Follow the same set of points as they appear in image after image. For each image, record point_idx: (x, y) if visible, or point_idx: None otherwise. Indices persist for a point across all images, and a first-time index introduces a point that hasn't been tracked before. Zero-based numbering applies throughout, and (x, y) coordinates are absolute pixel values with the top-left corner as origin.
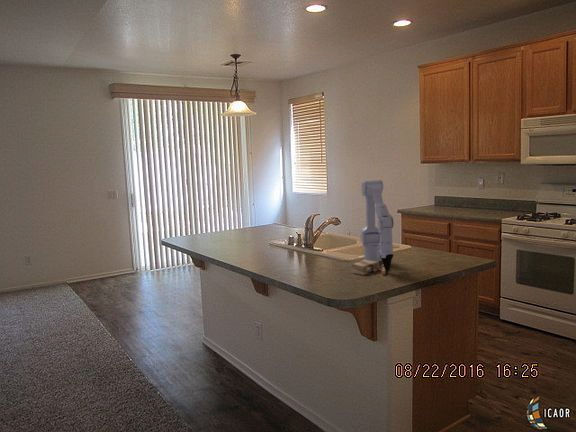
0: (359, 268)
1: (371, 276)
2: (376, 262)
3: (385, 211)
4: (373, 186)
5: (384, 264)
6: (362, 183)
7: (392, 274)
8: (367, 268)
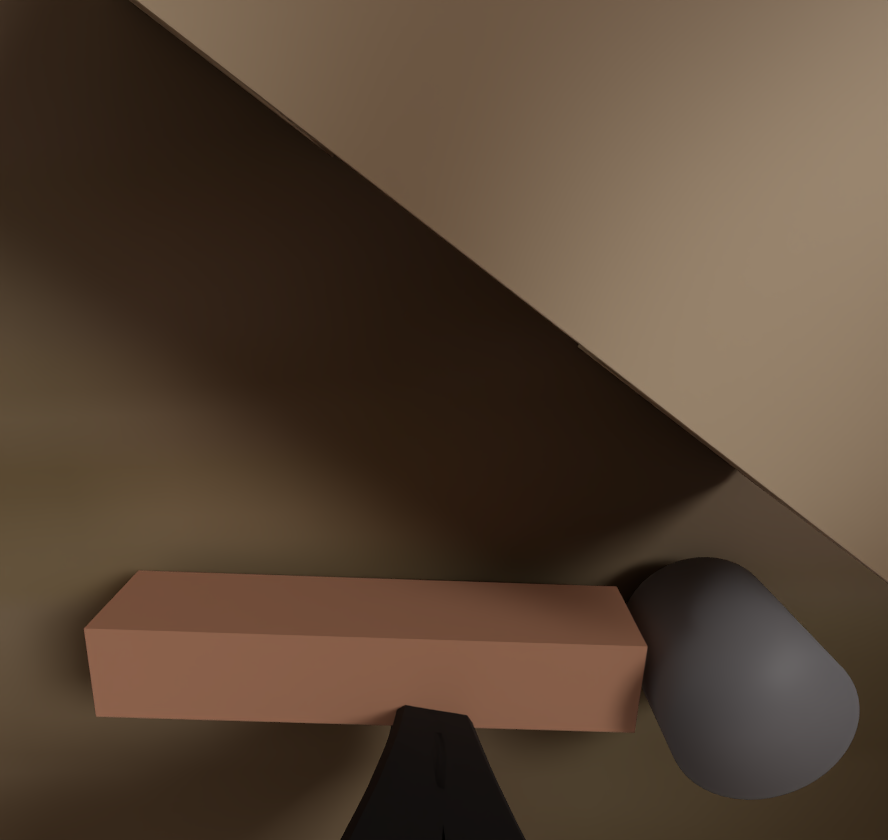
0: None
1: (16, 280)
2: (807, 519)
3: None
4: None
5: (362, 836)
6: None
7: (294, 773)
8: (257, 96)
